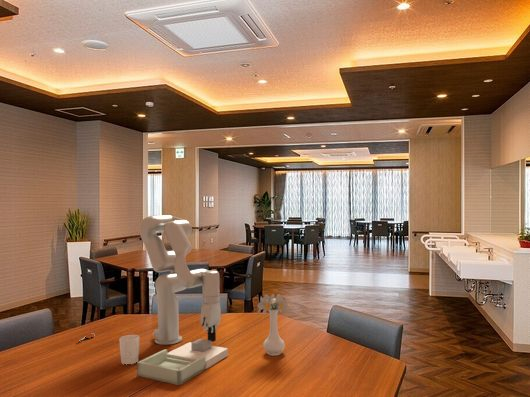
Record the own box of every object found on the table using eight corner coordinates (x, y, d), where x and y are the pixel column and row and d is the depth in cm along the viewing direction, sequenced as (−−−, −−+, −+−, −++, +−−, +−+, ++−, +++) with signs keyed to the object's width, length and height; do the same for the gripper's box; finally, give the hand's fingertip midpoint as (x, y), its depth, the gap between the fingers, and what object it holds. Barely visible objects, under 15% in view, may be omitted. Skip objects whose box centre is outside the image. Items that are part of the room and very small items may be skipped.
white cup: (143, 359, 177) (143, 335, 177) (131, 366, 169) (131, 341, 169) (127, 357, 179) (127, 333, 179) (115, 364, 172) (115, 339, 172)
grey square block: (191, 349, 179) (191, 342, 179) (199, 345, 184) (199, 338, 184) (203, 352, 176) (203, 344, 176) (211, 347, 181) (211, 340, 181)
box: (137, 375, 160) (137, 362, 160) (165, 361, 174) (165, 349, 174) (179, 385, 151) (179, 371, 151) (205, 369, 165) (205, 356, 165)
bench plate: (165, 361, 175) (165, 353, 175) (189, 348, 189) (189, 342, 189) (206, 368, 166) (206, 361, 166) (227, 355, 180) (227, 348, 180)
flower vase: (288, 345, 191) (287, 290, 192) (288, 360, 173) (287, 299, 173) (259, 345, 192) (259, 290, 193) (256, 360, 174) (255, 299, 174)
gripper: (213, 295, 196) (213, 335, 195) (194, 301, 182) (194, 344, 182) (227, 296, 192) (227, 337, 192) (208, 303, 179) (209, 347, 179)
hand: (211, 340), depth 187 cm, fingers closed
